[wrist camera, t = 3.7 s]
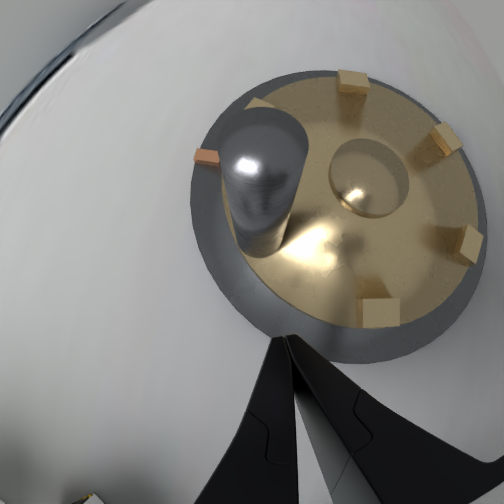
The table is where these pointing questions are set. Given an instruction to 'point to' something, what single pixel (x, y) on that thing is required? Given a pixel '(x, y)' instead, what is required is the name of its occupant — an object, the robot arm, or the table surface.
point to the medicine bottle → (89, 500)
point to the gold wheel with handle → (349, 201)
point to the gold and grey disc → (273, 308)
